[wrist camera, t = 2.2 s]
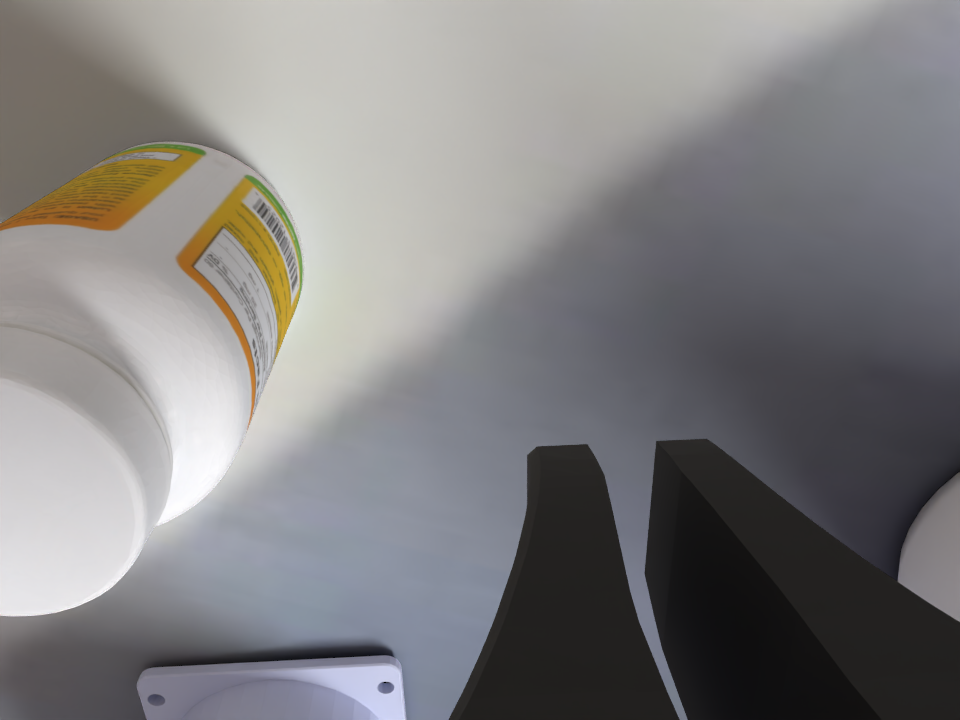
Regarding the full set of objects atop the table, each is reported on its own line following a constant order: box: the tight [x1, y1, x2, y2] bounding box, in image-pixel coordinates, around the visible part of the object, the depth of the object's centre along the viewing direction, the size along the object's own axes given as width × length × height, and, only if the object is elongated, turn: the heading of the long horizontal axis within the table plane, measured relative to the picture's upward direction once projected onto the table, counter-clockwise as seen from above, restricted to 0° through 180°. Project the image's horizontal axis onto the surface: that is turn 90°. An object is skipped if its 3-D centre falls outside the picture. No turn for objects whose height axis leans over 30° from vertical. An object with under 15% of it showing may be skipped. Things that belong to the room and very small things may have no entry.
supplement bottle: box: [0, 142, 304, 616], centre depth 15 cm, size 5×5×10 cm
